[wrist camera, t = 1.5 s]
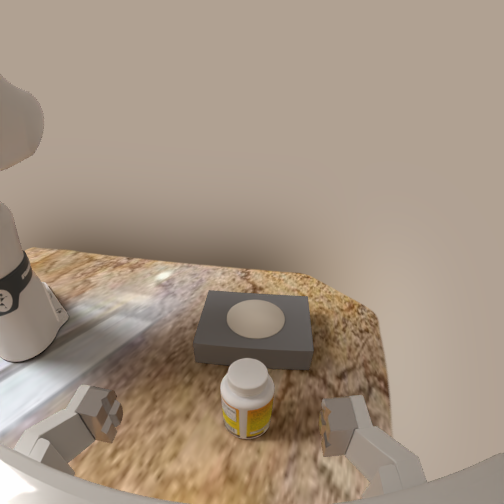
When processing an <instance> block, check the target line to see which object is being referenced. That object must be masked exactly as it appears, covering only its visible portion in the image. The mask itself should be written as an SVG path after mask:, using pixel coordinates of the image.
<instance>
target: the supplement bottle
mask: <svg viewBox="0 0 504 504" xmlns="http://www.w3.org/2000/svg"><path fill="white" fill-rule="evenodd" d="M220 390H221V400H222V409H223V418H224V424H225V426H226V428H227V430H228V431H229V432H230V433H231V434H232V435H234V436H236V437H238V438H242V439H253V438H256V437H259V436H261V435H262V434H263V433H265V431H266V430H267V429H268V427H269V425H270V419H271V413H272V405H273V398H274V390H275V386H274V382H273V380H272V378H271V376H270V375H269V374H268V370H267V368H266V366H265V365H264V364H263V363H262V362H260V361H258V360H256V359H252V358H243V359H239V360H237V361H235V362H234V363H232V364H231V365H230V367H229V369H228V373H227V374H226V375H225V376H224V378H223V379H222V382H221V386H220Z"/></svg>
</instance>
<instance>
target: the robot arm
mask: <svg viewBox="0 0 504 504" xmlns="http://www.w3.org/2000/svg"><path fill="white" fill-rule="evenodd" d="M43 129H44V116H43V111H42V109H41V106H40V104H39V102H38V101H37V99H36V98H35V97H34V96H33V95H32V94H31V93H29V92H27V91H25V90H22V89H20V88H18V87H15V86H14V85H12V84H11V83H9V82H8V81H7V80H6V79H5V78H3V76H2V75H1V74H0V171H2V170H5V169H8V168H10V167H12V166H14V165H15V164H17V163H19V162H21V161H23V160H24V159H27V158H28V157H30V156H32V155H33V154H34V153H35V151H36V150H37V148H38V146H39V144H40V141H41V138H42V134H43ZM68 318H69V316H68V314H67V312H66V310H65V309H64V308H63V306H62V305H61V304H60V302H59V301H58V299H57V298H56V297H55V295H54V294H53V292H52V291H51V289H50V288H49V287H48V285H47V284H46V283H45V282H41V281H40V279H39V278H38V276H37V275H36V274H35V272H34V271H33V270H32V268H31V266H30V261H29V259H28V257H27V255H26V253H25V251H23V250H22V247H21V243H20V240H19V237H18V233H17V229H16V226H15V222H14V218H13V215H12V213H11V211H10V209H9V208H8V207H7V206H6V205H5V204H4V203H2V202H0V357H1V358H3V359H5V360H7V361H12V362H18V361H24V360H27V359H30V358H32V357H34V356H36V355H38V354H40V353H41V352H42V351H44V350H45V349H46V348H47V347H48V346H49V345H50V344H51V342H52V341H53V340H54V338H55V336H56V334H57V332H58V330H59V328H60V327H61V326H62V325H63V324H64V323H65V322H66V321H67V320H68ZM116 398H117V395H116V393H115V391H113V390H108V389H103V388H99V387H94V386H89V385H85V384H82V385H80V386H79V388H78V389H77V391H76V393H75V394H74V396H73V398H72V399H71V401H70V403H69V404H68V406H67V408H66V409H65V410H64V409H62V410H60V411H58V412H57V413H55V414H53V415H51V416H50V417H48V418H46V419H44V420H43V421H41V422H39V423H37V424H35V425H34V426H32V427H30V428H28V429H26V430H25V431H24V433H23V434H22V436H21V438H20V439H19V441H18V443H17V444H16V446H15V448H14V449H11V448H9V447H8V446H6V445H4V444H2V443H0V504H188V503H180V502H174V501H168V500H162V499H157V498H151V497H147V496H142V495H137V494H133V493H129V492H125V491H121V490H117V489H113V488H110V487H106V486H103V485H100V484H96V483H93V482H90V481H87V480H84V479H81V478H78V477H75V476H74V474H75V472H74V470H73V469H72V468H71V467H70V466H69V465H68V463H69V462H70V461H71V460H72V459H74V458H75V457H76V456H77V455H78V454H80V453H81V452H82V451H83V450H85V449H86V448H87V447H88V446H89V445H91V444H92V443H93V442H94V441H95V440H98V441H103V442H107V443H113V440H114V438H115V436H116V433H117V430H116V428H115V427H116V426H118V425H119V424H120V423H121V421H122V417H123V410H122V406H121V404H120V403H119V402H118V401H117V400H116ZM321 406H322V411H321V412H320V415H319V431H320V435H321V436H322V437H323V438H322V443H321V445H322V451H323V457H328V456H339V455H345V456H346V457H347V458H348V460H349V461H350V462H351V463H352V464H353V465H354V466H355V467H356V468H357V469H358V470H359V471H360V472H361V473H362V474H363V475H364V476H365V477H366V478H367V479H368V480H369V481H370V484H369V485H368V487H367V488H366V490H365V491H364V492H363V494H362V499H359V500H353V501H347V502H341V503H334V504H504V453H499V454H497V455H494V456H492V457H490V458H488V459H486V460H484V461H482V462H480V463H478V464H475V465H473V466H470V467H468V468H466V469H463V470H461V471H458V472H456V473H453V474H450V475H448V476H445V477H442V478H439V479H437V480H434V481H430V482H427V481H426V478H425V475H424V472H423V469H422V466H421V463H420V460H419V458H418V456H416V455H415V454H414V453H412V452H411V451H409V450H408V449H407V448H405V447H404V446H403V445H401V444H400V443H399V442H397V441H396V440H395V439H393V438H392V437H391V436H389V435H388V434H387V433H385V432H384V431H383V430H381V429H380V428H379V427H377V426H373V425H372V422H371V418H370V415H369V412H368V409H367V406H366V403H365V400H364V397H363V396H362V395H356V396H345V397H336V398H326V399H323V400H322V404H321Z"/></svg>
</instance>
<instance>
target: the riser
mask: <svg viewBox="0 0 504 504" xmlns="http://www.w3.org/2000/svg"><path fill="white" fill-rule="evenodd" d="M193 347H194V354H195V360H196V362H200V363H209V364H218V365H229V366H230V365H231V364H232V363H234V362H235V361H237V360H239V359H243V358H252V359H256V360H258V361H260V362H262V363H263V364H264V365H265V366H266V368H271V369H295V370H309V368H310V364H311V360H312V356H313V352H314V349H313V340H312V330H311V321H310V312H309V304H308V296H288V295H270V294H253V293H238V292H224V291H211V290H209V292H208V295H207V298H206V301H205V305H204V308H203V311H202V314H201V318H200V321H199V324H198V328H197V331H196V334H195V338H194V341H193Z"/></svg>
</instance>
